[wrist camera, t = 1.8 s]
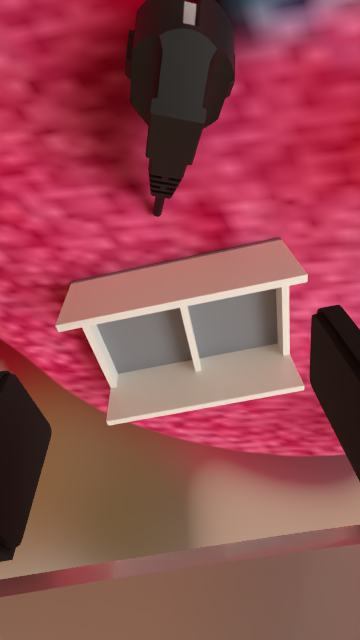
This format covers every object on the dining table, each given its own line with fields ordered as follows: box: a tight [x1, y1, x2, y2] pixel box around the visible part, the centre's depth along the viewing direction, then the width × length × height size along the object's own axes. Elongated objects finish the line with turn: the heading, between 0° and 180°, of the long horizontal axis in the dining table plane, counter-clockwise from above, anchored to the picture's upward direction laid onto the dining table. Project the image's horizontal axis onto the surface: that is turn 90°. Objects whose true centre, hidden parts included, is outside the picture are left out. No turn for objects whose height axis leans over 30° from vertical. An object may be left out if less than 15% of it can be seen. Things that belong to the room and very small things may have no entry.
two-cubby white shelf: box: [55, 238, 308, 425], centre depth 30 cm, size 12×18×6 cm, turn 101°
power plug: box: [125, 0, 235, 217], centre depth 21 cm, size 6×8×12 cm
